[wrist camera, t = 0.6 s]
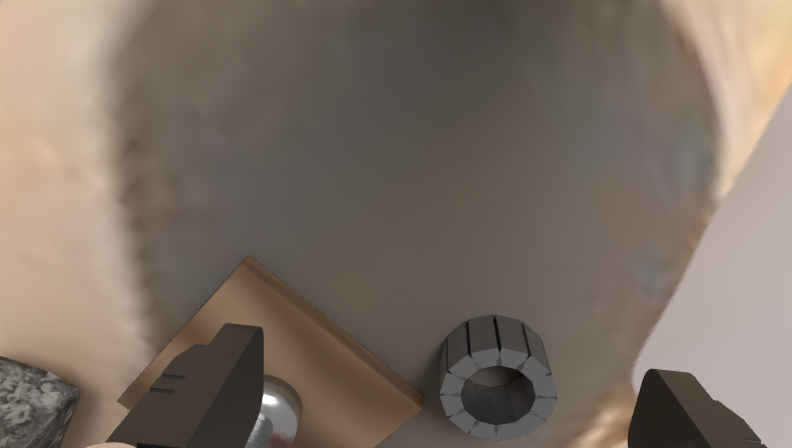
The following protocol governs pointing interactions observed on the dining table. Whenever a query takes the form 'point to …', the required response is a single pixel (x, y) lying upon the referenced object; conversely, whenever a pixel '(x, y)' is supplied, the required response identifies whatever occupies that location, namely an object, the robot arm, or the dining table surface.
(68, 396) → the concrete block
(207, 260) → the dining table surface
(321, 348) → the board
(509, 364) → the ring
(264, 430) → the post
